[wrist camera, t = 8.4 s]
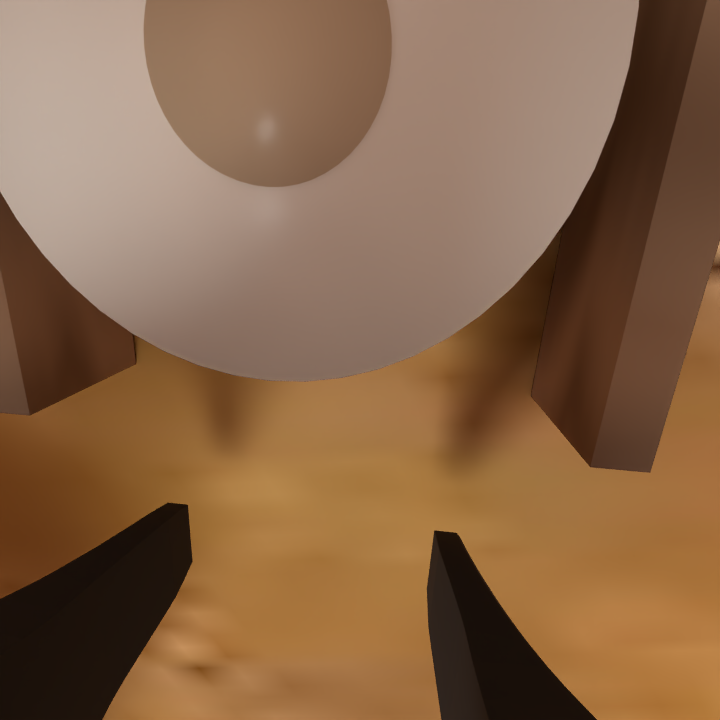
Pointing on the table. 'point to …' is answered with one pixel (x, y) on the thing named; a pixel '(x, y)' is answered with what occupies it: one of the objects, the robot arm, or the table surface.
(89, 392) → the table surface
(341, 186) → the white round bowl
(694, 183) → the cradle
